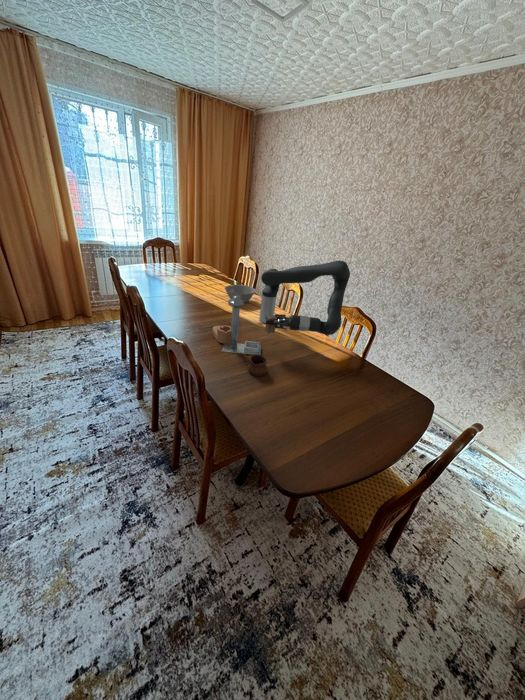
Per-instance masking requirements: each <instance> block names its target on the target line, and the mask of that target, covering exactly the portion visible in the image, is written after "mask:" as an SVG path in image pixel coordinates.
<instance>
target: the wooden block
mask: <svg viewBox="0 0 525 700" xmlns="http://www.w3.org/2000/svg"><path fill="white" fill-rule="evenodd" d="M266 320H274V321H276V320H277V318H276V317H275V314H274V315H270V316H267V317H266ZM264 331H266V333H267V334H272V333H275V332H276V328H275V326H273V325H267V324H266V323H265V328H264Z"/></svg>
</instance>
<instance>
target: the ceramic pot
mask: <svg viewBox="0 0 525 700" xmlns="http://www.w3.org/2000/svg"><path fill="white" fill-rule="evenodd" d="M249 361H250V363H249V364H248V366H247V371H248V372H249V374H250V375H252V376H255V377H261V376H264V375H266V373H267V370H268V366H267V362H268V360H267V358H265V357H264V356H262V355H252V356H250V358H249ZM237 371H238V370H237ZM238 374H239V376H241V373H240V371H238Z"/></svg>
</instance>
